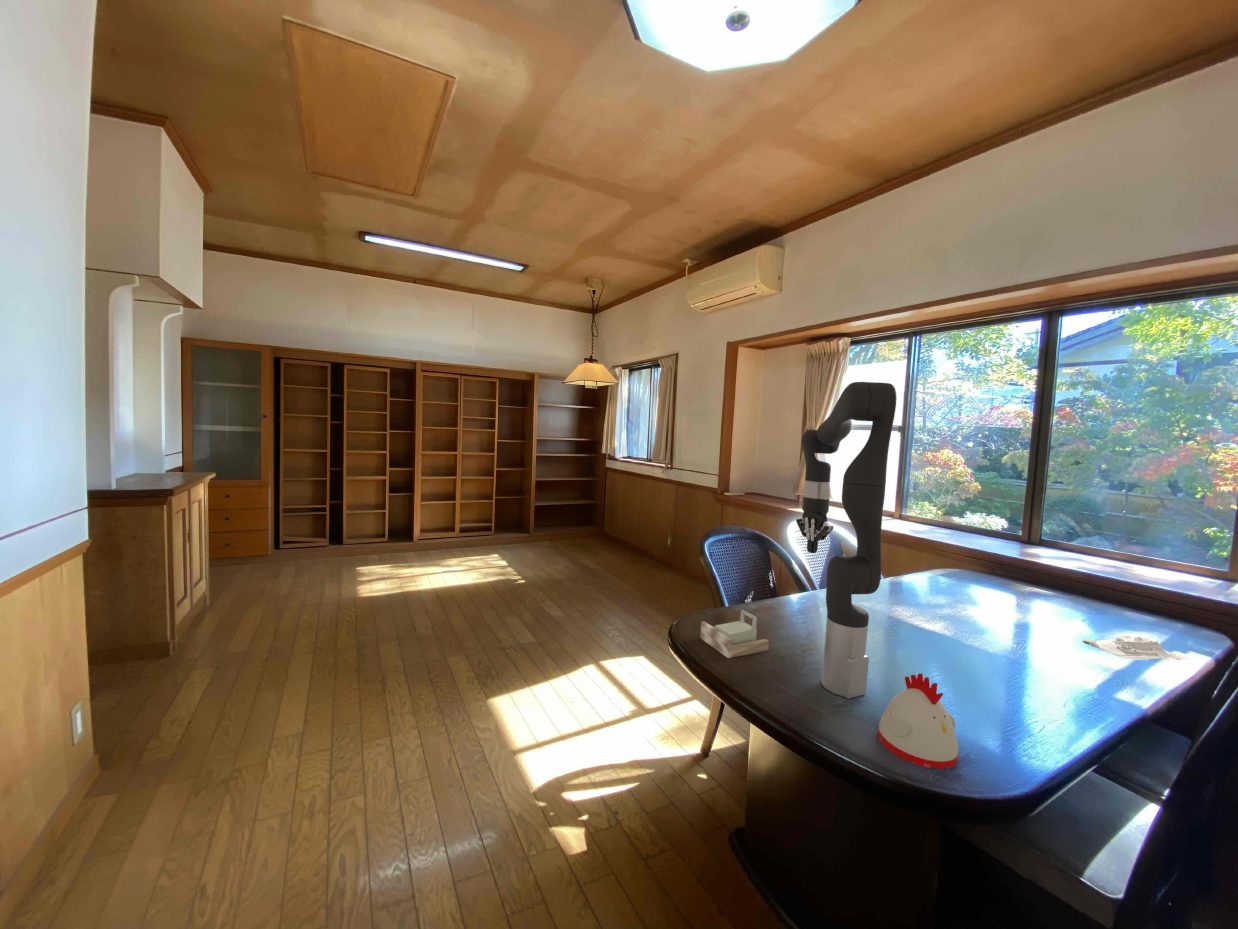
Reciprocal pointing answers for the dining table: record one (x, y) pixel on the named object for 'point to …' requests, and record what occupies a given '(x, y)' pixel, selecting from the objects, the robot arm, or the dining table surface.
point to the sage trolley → (739, 629)
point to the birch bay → (730, 642)
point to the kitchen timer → (919, 726)
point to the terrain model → (1134, 648)
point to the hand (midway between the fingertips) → (811, 552)
